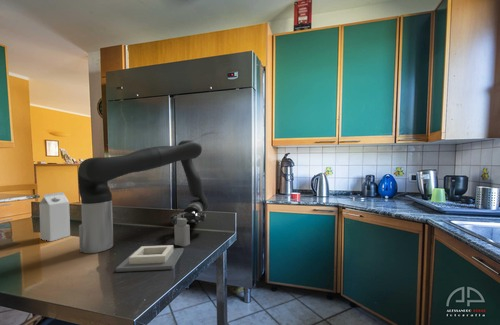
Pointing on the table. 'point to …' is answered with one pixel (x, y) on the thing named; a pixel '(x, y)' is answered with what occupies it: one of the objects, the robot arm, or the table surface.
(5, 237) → the table surface
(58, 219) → the milk carton
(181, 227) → the power adapter
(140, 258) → the docking plate
